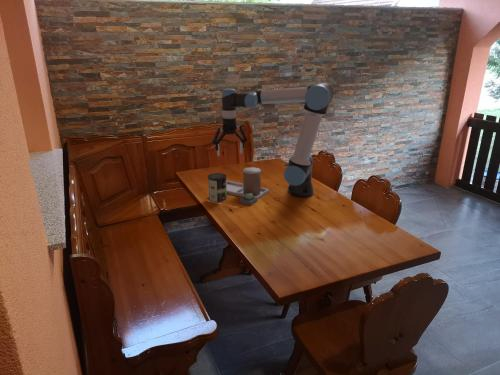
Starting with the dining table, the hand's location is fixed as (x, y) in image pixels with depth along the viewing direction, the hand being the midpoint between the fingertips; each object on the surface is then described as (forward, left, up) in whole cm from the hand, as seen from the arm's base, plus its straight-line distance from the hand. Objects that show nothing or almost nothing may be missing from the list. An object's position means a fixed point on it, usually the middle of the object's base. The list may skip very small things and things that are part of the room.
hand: (230, 154), depth 211 cm
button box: (-18, +10, -23) cm, 31 cm away
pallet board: (-6, -2, -23) cm, 24 cm away
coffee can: (0, +14, -23) cm, 27 cm away
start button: (-18, +10, -20) cm, 29 cm away
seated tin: (-13, -2, -22) cm, 26 cm away
